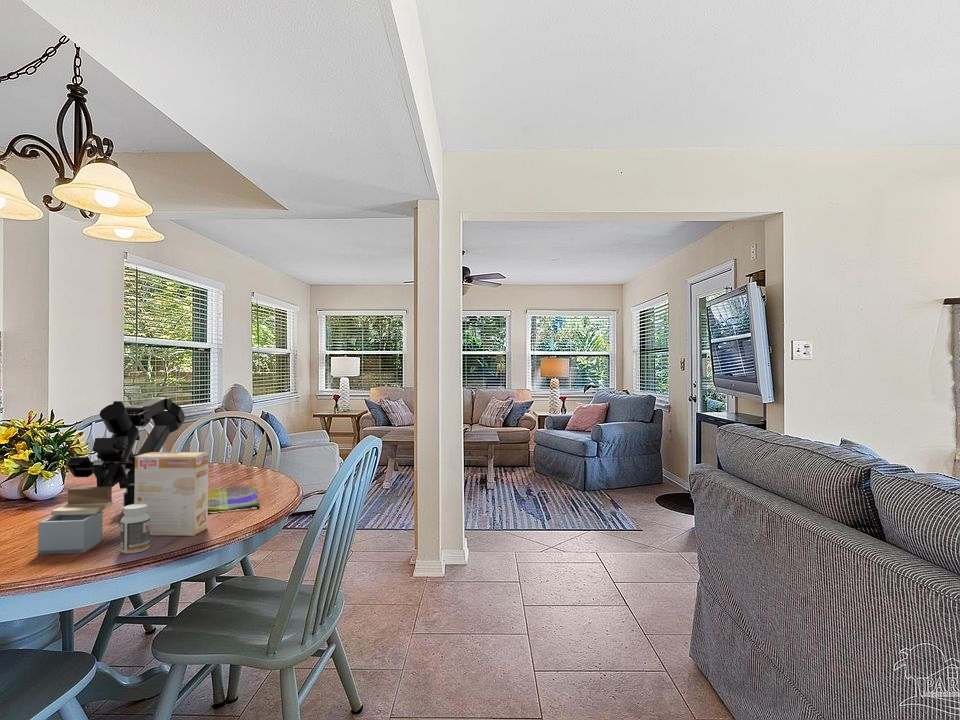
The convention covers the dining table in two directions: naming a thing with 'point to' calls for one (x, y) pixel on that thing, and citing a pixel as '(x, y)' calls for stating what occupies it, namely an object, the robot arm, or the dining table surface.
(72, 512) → the birch lid
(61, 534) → the slate box
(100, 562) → the dining table surface
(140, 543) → the pill bottle
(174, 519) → the coffeecake box
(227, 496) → the dish towel
